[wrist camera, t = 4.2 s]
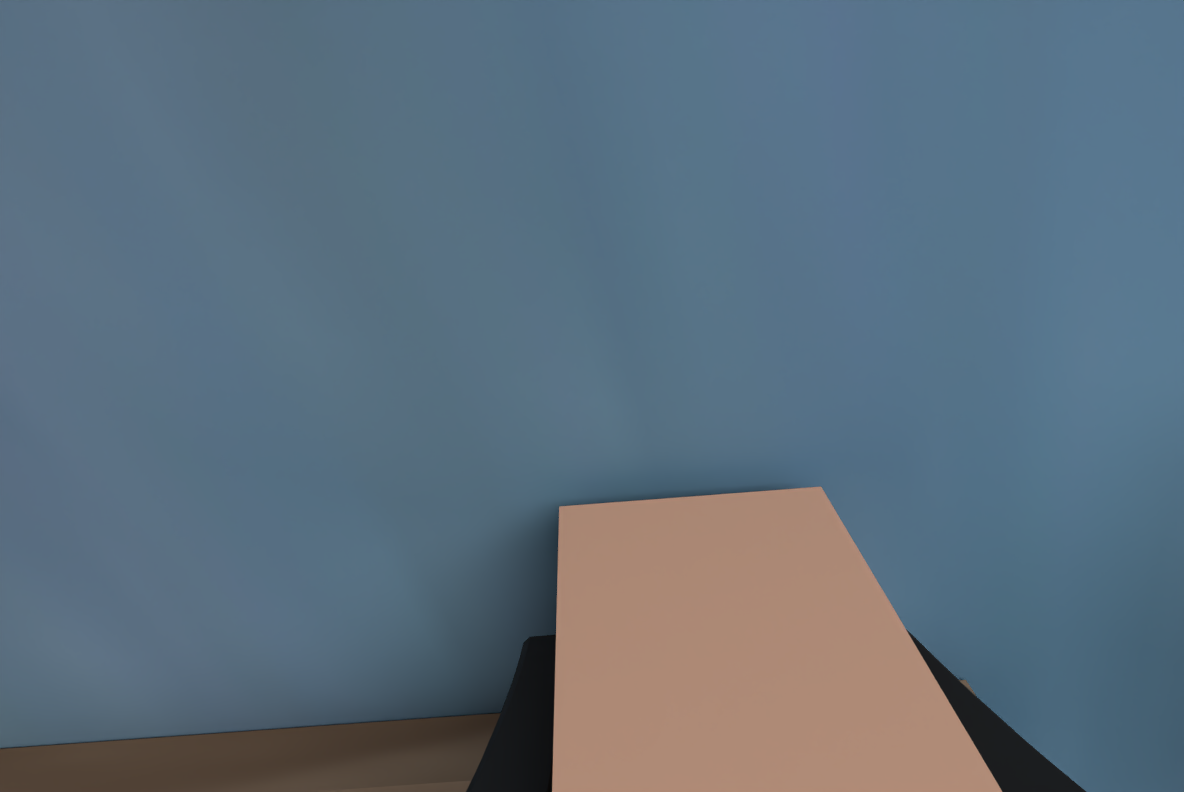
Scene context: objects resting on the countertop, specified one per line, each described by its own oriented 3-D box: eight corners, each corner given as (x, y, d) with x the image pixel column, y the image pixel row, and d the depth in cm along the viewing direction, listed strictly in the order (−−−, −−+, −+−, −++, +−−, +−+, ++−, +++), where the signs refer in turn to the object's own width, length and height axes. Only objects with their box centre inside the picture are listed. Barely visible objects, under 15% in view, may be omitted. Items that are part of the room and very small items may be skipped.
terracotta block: (558, 506, 11) (548, 961, 6) (821, 487, 11) (1080, 924, 6) (579, 688, 13) (587, 1163, 8) (803, 672, 13) (980, 1137, 8)
